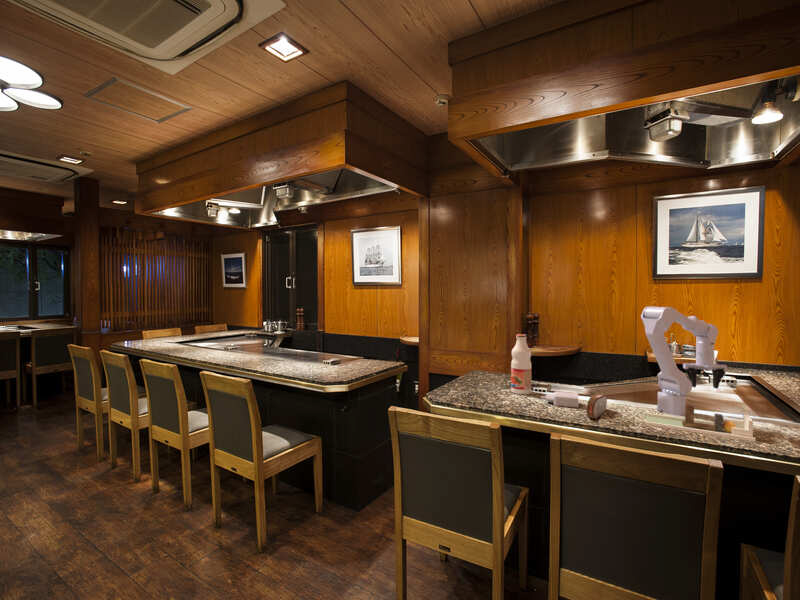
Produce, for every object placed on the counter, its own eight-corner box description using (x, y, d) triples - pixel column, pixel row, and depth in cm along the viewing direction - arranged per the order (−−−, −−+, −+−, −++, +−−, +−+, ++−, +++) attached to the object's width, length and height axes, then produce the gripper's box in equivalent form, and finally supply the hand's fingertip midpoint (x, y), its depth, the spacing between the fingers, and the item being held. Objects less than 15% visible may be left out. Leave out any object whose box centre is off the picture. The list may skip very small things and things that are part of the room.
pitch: (644, 428, 141) (644, 407, 141) (646, 419, 152) (646, 399, 152) (755, 446, 125) (755, 422, 125) (748, 434, 135) (748, 412, 135)
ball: (736, 423, 131) (737, 434, 131) (735, 420, 134) (735, 431, 134) (722, 422, 133) (723, 433, 133) (721, 419, 136) (722, 430, 136)
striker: (682, 426, 138) (682, 404, 138) (682, 422, 142) (682, 402, 142) (723, 432, 132) (723, 410, 132) (721, 428, 136) (721, 406, 136)
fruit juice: (533, 395, 188) (534, 335, 187) (513, 394, 188) (513, 335, 188) (528, 390, 197) (528, 333, 197) (509, 390, 198) (509, 333, 197)
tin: (600, 411, 162) (600, 390, 162) (608, 413, 159) (608, 392, 159) (585, 419, 151) (585, 397, 151) (594, 421, 149) (594, 399, 149)
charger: (541, 399, 180) (577, 403, 175) (540, 405, 172) (578, 409, 166) (541, 389, 180) (577, 392, 174) (540, 394, 172) (578, 397, 166)
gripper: (689, 354, 157) (688, 388, 158) (731, 355, 154) (731, 390, 154) (680, 351, 164) (680, 384, 164) (721, 353, 161) (721, 386, 161)
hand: (704, 387), depth 160 cm, fingers open, 7 cm apart
